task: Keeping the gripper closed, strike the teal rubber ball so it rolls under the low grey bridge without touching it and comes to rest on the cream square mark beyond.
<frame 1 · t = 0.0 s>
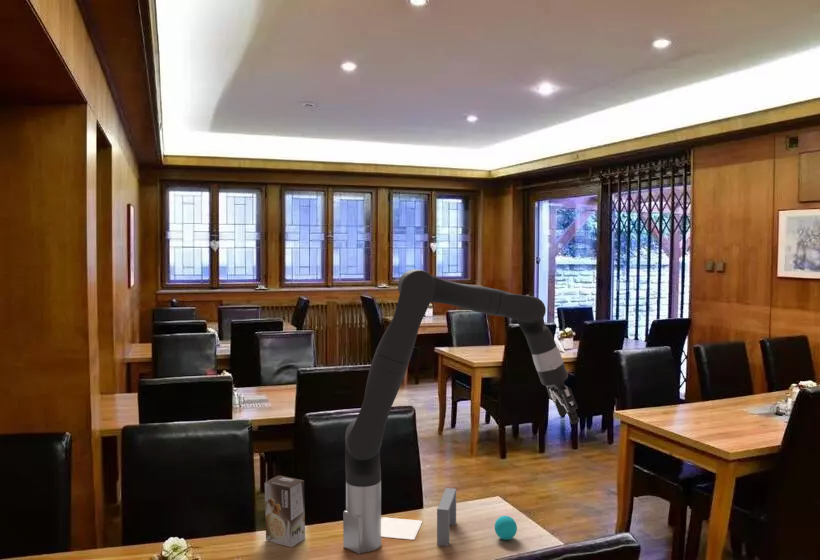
hand: (569, 418, 171), 31 cm above the table, tool tilted 20°, fingers open, 8 cm apart
coffee box: (285, 540, 168), on the table
ball: (505, 527, 168), on the table
bridge: (447, 533, 171), on the table
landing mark: (397, 528, 174), on the table
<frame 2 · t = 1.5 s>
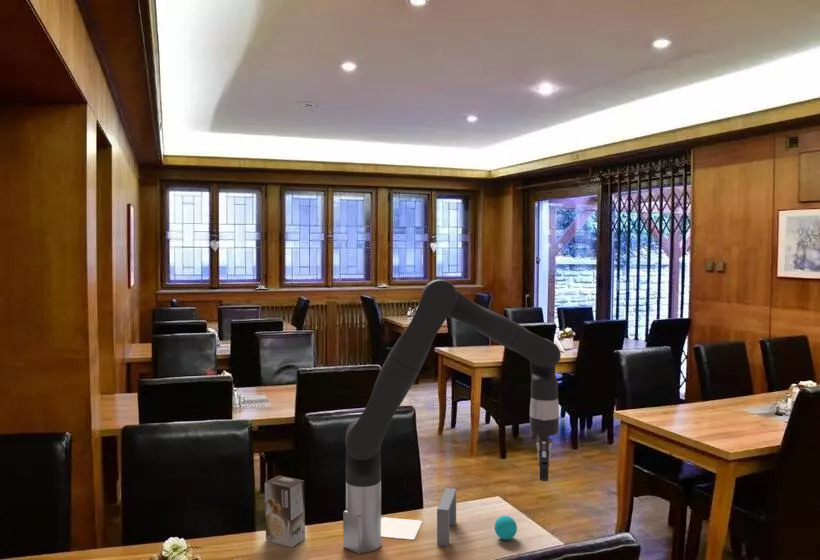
hand: (543, 479, 165), 17 cm above the table, tool pointing down, fingers closed
nothing on the table moved.
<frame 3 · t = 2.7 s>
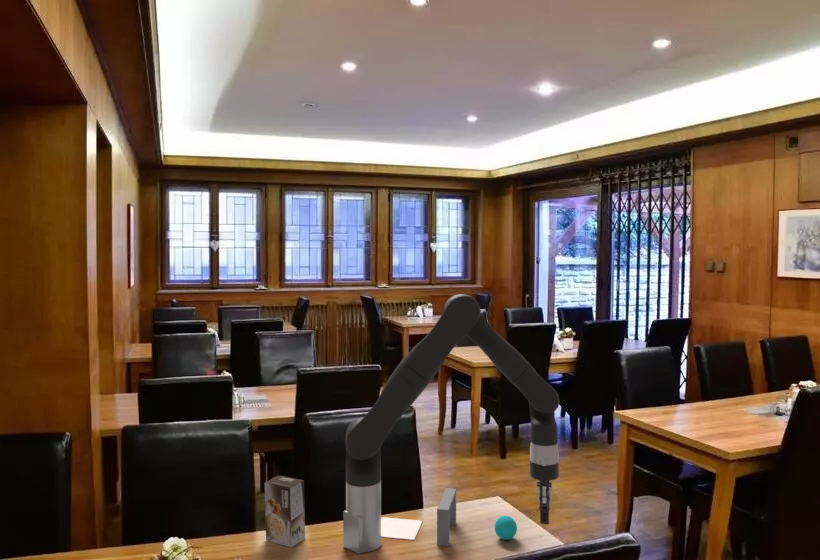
hand: (544, 523, 165), 5 cm above the table, tool pointing down, fingers closed
nothing on the table moved.
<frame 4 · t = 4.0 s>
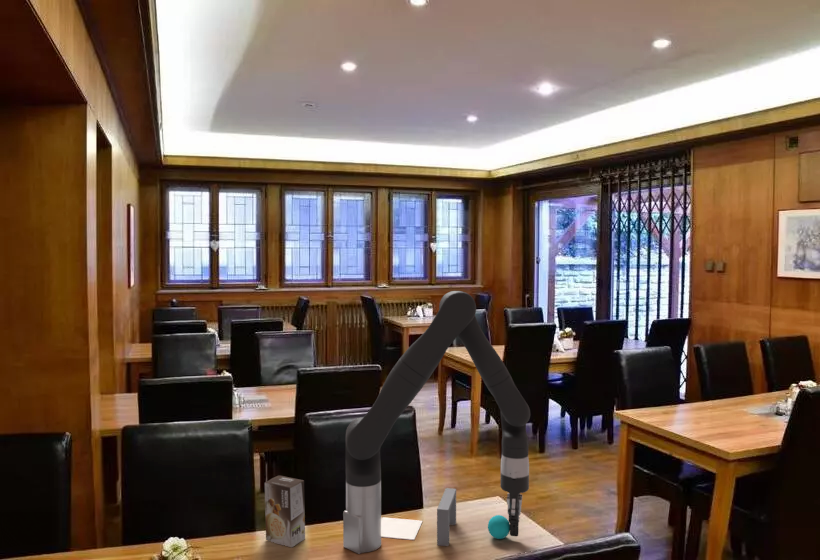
hand: (514, 535, 167), 1 cm above the table, tool pointing down, fingers closed
ball: (499, 527, 168), on the table
everything else where it was.
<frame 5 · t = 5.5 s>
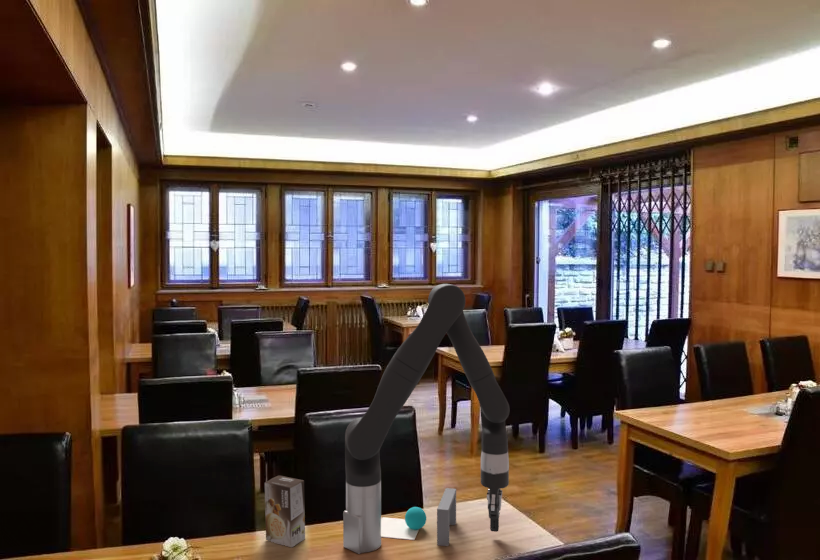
hand: (494, 530, 168), 2 cm above the table, tool pointing down, fingers closed
ball: (415, 518, 174), on the table
everything else where it was.
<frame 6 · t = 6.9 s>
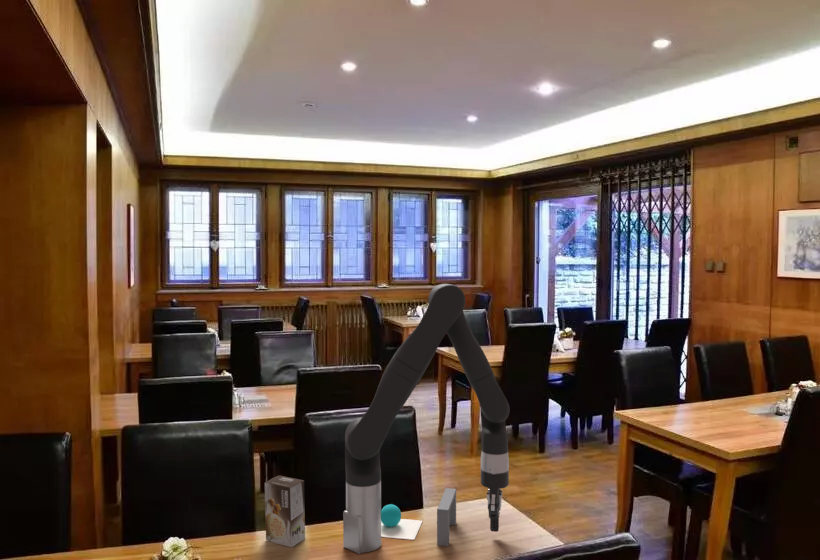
hand: (494, 530, 168), 2 cm above the table, tool pointing down, fingers closed
ball: (390, 515, 176), on the table
everything else where it was.
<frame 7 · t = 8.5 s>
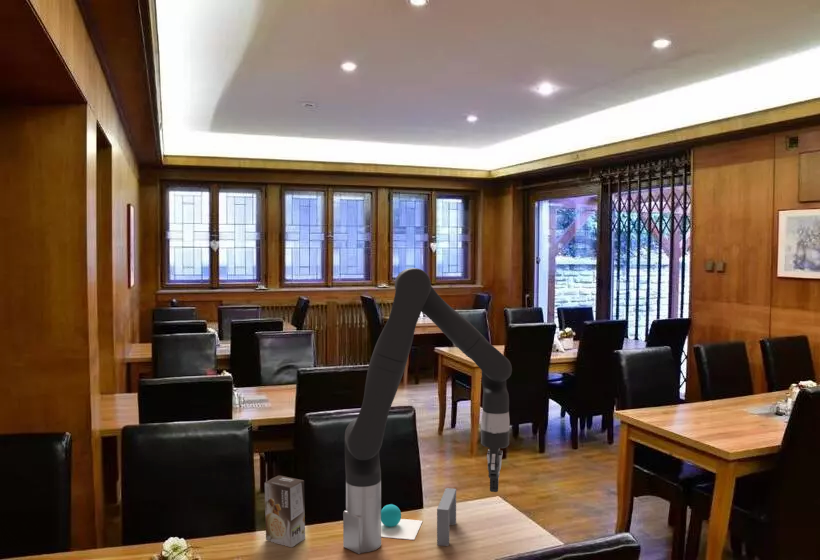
hand: (494, 490, 168), 13 cm above the table, tool pointing down, fingers closed
nothing on the table moved.
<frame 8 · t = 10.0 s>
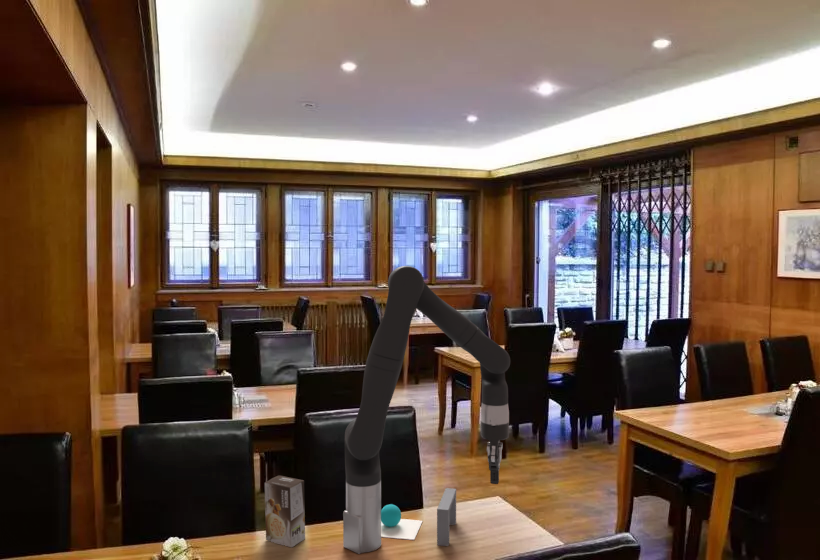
hand: (494, 483, 168), 15 cm above the table, tool pointing down, fingers closed
nothing on the table moved.
at the end: ball 2.6 cm from the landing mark (horizontally); ball never touched bridge; ball at rest at the end (0.0 cm/s) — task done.
